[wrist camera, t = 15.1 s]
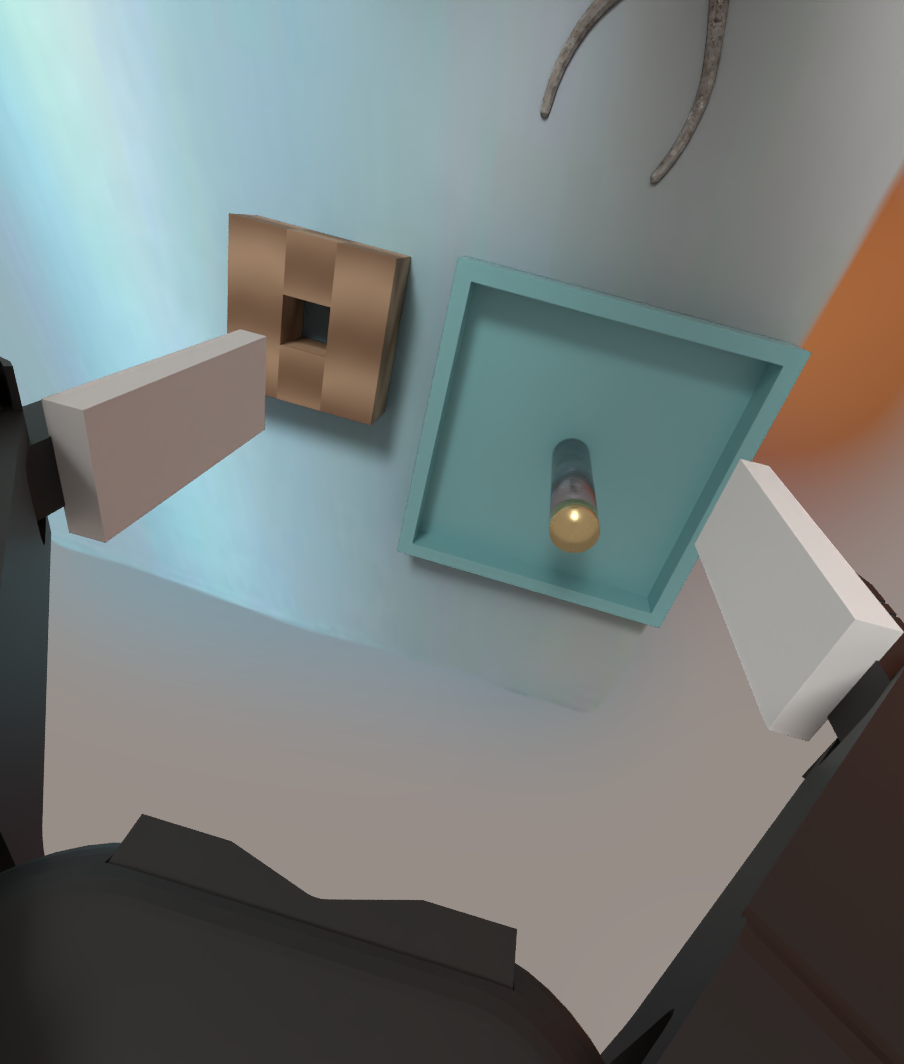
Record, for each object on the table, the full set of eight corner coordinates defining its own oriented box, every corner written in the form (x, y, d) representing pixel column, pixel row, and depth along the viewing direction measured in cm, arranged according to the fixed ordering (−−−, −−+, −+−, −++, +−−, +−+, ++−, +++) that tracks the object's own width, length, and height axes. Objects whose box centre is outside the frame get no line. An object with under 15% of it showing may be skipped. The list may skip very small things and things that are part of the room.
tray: (466, 256, 39) (458, 257, 36) (791, 343, 38) (811, 352, 35) (406, 532, 51) (396, 551, 48) (653, 604, 50) (659, 628, 47)
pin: (559, 434, 43) (558, 503, 32) (595, 444, 43) (607, 517, 32) (547, 467, 45) (542, 545, 34) (582, 477, 45) (589, 558, 33)
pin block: (257, 215, 40) (228, 213, 37) (410, 256, 40) (396, 258, 36) (251, 373, 46) (226, 384, 43) (384, 410, 46) (370, 425, 42)
